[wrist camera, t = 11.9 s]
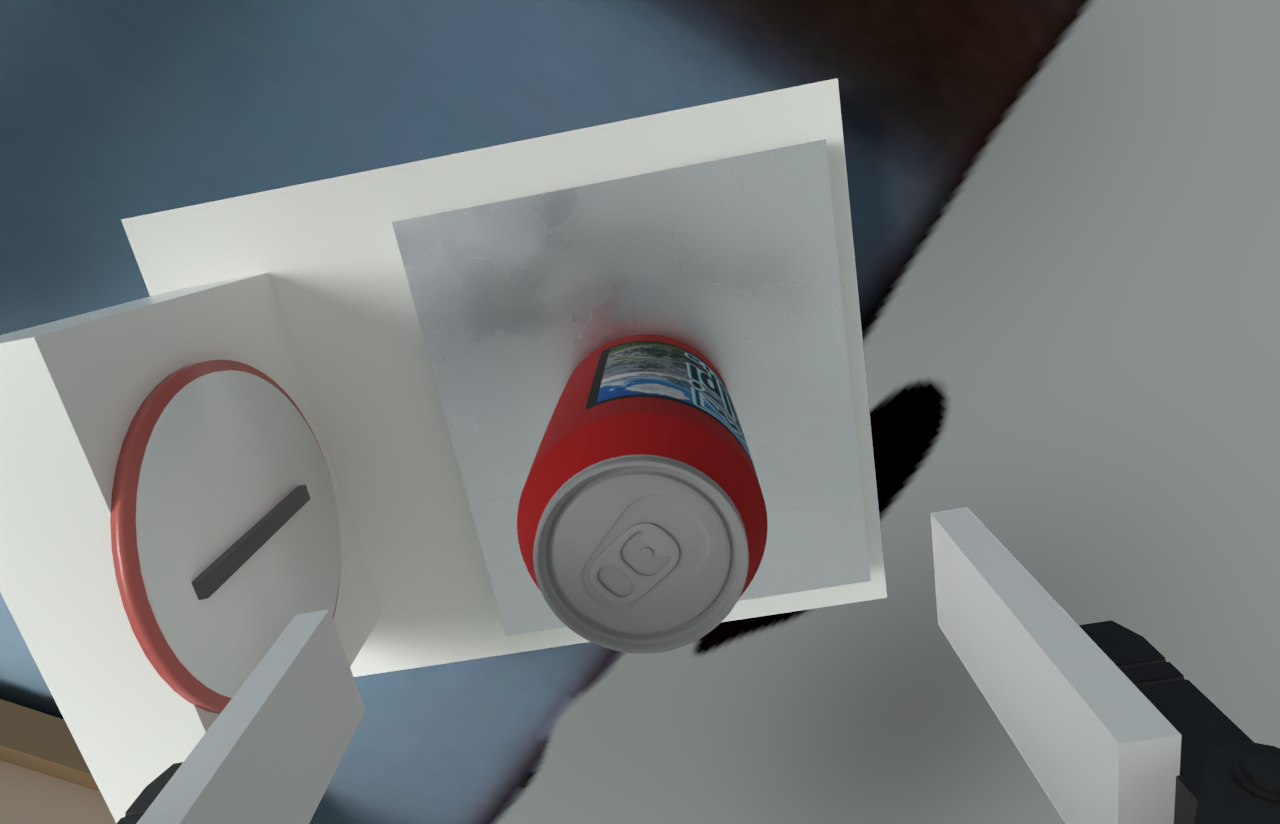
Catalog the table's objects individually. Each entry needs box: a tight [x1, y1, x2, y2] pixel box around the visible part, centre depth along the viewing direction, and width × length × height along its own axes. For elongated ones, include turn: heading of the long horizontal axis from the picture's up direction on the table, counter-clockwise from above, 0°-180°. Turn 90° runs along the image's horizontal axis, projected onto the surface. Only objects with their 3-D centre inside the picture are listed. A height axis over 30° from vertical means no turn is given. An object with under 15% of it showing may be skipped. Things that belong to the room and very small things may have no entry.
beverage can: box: [517, 334, 768, 653], centre depth 24 cm, size 7×7×12 cm
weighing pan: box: [392, 139, 871, 636], centre depth 31 cm, size 16×18×1 cm
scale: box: [0, 78, 887, 824], centre depth 28 cm, size 28×22×17 cm
